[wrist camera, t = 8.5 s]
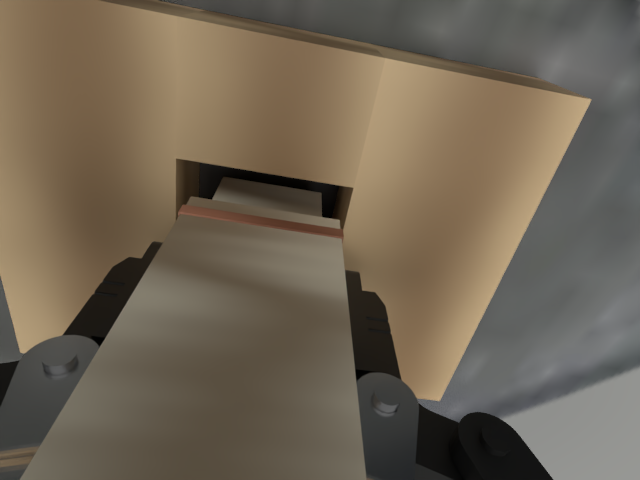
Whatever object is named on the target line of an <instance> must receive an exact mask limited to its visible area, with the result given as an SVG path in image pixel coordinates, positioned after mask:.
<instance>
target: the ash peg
mask: <svg viewBox="0 0 640 480" xmlns="http://www.w3.org/2000/svg"><path fill="white" fill-rule="evenodd" d="M343 239H344V234H343V229H340V220H337V219H330V218H324V217H322V194H321V193H320V192H314V191H308V190H302V189H296V188H290V187H284V186H278V185H272V184H265V183H259V182H253V181H247V180H241V179H235V178H229V177H223V178H222V180H221V182H220V184H219V186H218V188H217V190H216V192H215V194H214V196H213V198H212V200H211V199H204V198H198V197H192V196H191V197H190V199H189V201H188V202H187V204H186V205H182V207H181V208H180V210H179V212H178V219H177V220H176V222H175V224H174V225H173V227H172V229H171V230H170V232H169V234H168V235H167V237H166V239H165V240H164V242H163V244H162V245H161V247H160V249H159V250H158V252H157V254H156V255H155V257H154V258H153V260H152V262H151V263H150V265H149V267H148V268H147V270H146V272H145V273H144V275H143V277H142V278H141V280H140V282H139V283H138V285H137V287H136V288H135V290H134V292H133V293H132V295H131V297H130V298H129V300H128V301H127V303H126V305H125V306H124V308H123V310H122V311H121V313H120V315H119V316H118V318H117V320H116V321H115V323H114V325H113V326H112V328H111V330H110V331H109V333H108V335H107V336H106V338H105V340H104V341H103V343H102V344H101V346H100V348H99V349H98V351H97V353H96V354H95V356H94V358H93V359H92V361H91V363H90V364H89V366H88V368H87V369H86V371H85V373H84V374H83V376H82V378H81V379H80V381H79V383H78V384H77V386H76V387H75V389H74V391H73V392H72V394H71V396H70V397H69V399H68V401H67V402H66V404H65V406H64V407H63V409H62V411H61V412H60V414H59V416H58V417H57V419H56V421H55V422H54V424H53V426H52V427H51V429H50V430H49V432H48V434H47V435H46V437H45V439H44V440H43V442H42V444H41V445H40V447H39V449H38V450H37V452H36V454H35V455H34V457H33V459H32V460H31V462H30V464H29V465H28V467H27V469H26V470H25V472H24V473H23V475H22V477H21V478H20V480H366V470H365V460H364V451H363V441H362V431H361V422H360V412H359V403H358V393H357V383H356V374H355V364H354V354H353V345H352V335H351V325H350V316H349V306H348V296H347V287H346V277H345V267H344V258H343V248H342V243H343Z"/></svg>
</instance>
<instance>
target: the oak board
mask: <svg viewBox="0 0 640 480" xmlns="http://www.w3.org/2000/svg"><path fill="white" fill-rule="evenodd" d="M590 102H591V99H589V98H586V97H584V96H581V95H579V94H577V93H574V92H572V91H569V90H567V89H564V88H562V87H559V86H557V85H554V84H552V83H549V82H547V81H544V80H542V79H539V78H536V77H531V76H526V75H521V74H516V73H511V72H506V71H501V70H496V69H492V68H487V67H482V66H477V65H472V64H467V63H462V62H457V61H452V60H447V59H443V58H438V57H433V56H428V55H423V54H418V53H413V52H408V51H403V50H398V49H393V48H389V47H384V46H379V45H374V44H369V43H364V42H359V41H354V40H349V39H344V38H340V37H335V36H330V35H325V34H320V33H315V32H310V31H305V30H300V29H295V28H291V27H286V26H281V25H276V24H271V23H266V22H261V21H256V20H251V19H246V18H242V17H237V16H232V15H227V14H222V13H217V12H212V11H207V10H202V9H197V8H192V7H188V6H183V5H178V4H173V3H168V2H163V1H158V0H0V275H1V279H2V283H3V287H4V291H5V295H6V299H7V303H8V307H9V310H10V314H11V318H12V322H13V326H14V330H15V334H16V338H17V341H18V345H19V349H20V353H26V352H27V351H28V350H29V349H31V348H32V347H34V346H35V345H37V344H39V343H40V342H43V341H45V340H47V339H50V338H53V337H58V336H62V335H63V334H64V332H65V331H66V329H67V328H68V327H69V325H70V324H71V323H72V321H73V320H74V319H75V317H76V316H77V315H78V313H79V312H80V310H81V309H82V308H83V306H84V305H85V304H86V302H87V301H88V300H89V298H90V297H91V295H92V294H94V293H95V290H96V289H97V287H98V286H99V285H100V283H102V282H103V279H104V278H105V276H106V275H107V274H108V272H109V271H110V270H111V268H112V267H113V266H115V265H116V264H118V263H120V262H121V261H123V260H125V259H126V258H128V257H135V258H142V257H143V255H144V254H145V252H146V250H147V249H148V247H149V246H150V244H151V243H152V242H153V241H156V242H164V240H165V239H166V237H167V235H168V234H169V232H170V230H171V229H172V227H173V225H174V224H175V222H176V220H177V219H178V212H179V210H180V208H181V207H182V205H186V204H187V202H188V201H189V199H190V197H191V196H192V197H198V198H199V174H200V162H201V163H207V164H213V165H219V166H225V167H231V168H237V169H243V170H249V171H255V172H261V173H267V174H273V175H279V176H285V177H291V178H297V179H303V180H309V181H315V182H321V183H327V184H333V185H339V189H338V193H337V198H336V202H335V207H334V211H333V216H332V219H337V220H340V229H343V234H344V239H343V243H342V248H343V258H344V267H345V270H350V271H357V272H359V273H360V278H361V285H362V290H363V291H370V292H376V294H377V295H378V296H379V298H380V299H381V300H382V302H383V303H384V304H385V306H386V311H387V316H388V322H389V325H390V329H391V334H392V339H393V343H394V348H395V352H396V357H397V362H398V366H399V371H400V375H401V380H402V381H403V382H404V383H405V384H407V385H408V386H409V387H410V389H411V390H412V391H413V393H414V394H415V396H416V398H419V399H428V400H437V401H440V399H441V397H442V395H443V393H444V391H445V389H446V387H447V385H448V383H449V381H450V379H451V378H452V376H453V374H454V372H455V370H456V368H457V366H458V364H459V362H460V360H461V358H462V356H463V354H464V352H465V350H466V348H467V346H468V344H469V342H470V340H471V338H472V336H473V334H474V332H475V330H476V328H477V326H478V324H479V322H480V320H481V318H482V316H483V314H484V312H485V310H486V308H487V306H488V304H489V302H490V300H491V298H492V296H493V294H494V292H495V290H496V288H497V286H498V284H499V282H500V280H501V278H502V276H503V274H504V272H505V270H506V268H507V267H508V265H509V263H510V261H511V259H512V257H513V255H514V253H515V251H516V249H517V247H518V245H519V243H520V241H521V239H522V237H523V235H524V233H525V231H526V229H527V227H528V225H529V223H530V221H531V219H532V217H533V215H534V213H535V211H536V209H537V207H538V205H539V203H540V201H541V199H542V197H543V195H544V193H545V191H546V189H547V187H548V185H549V183H550V181H551V179H552V177H553V175H554V173H555V171H556V169H557V167H558V165H559V163H560V161H561V159H562V157H563V156H564V154H565V152H566V150H567V148H568V146H569V144H570V142H571V140H572V138H573V136H574V134H575V132H576V130H577V128H578V126H579V124H580V122H581V120H582V118H583V116H584V114H585V112H586V110H587V108H588V106H589V104H590Z"/></svg>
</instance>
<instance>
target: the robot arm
mask: <svg viewBox="0 0 640 480" xmlns="http://www.w3.org/2000/svg"><path fill="white" fill-rule="evenodd" d="M162 244H163V242H156V241H153V242H152V243H151V244H150V246H149V247H148V249H147V250H146V252H145V254H144V255H143V257H142V258H135V257H128V258H126V259H125V260H123V261H121V262H120V263H118V264H116V265H115V266H113V267H112V268H111V270H110V271H109V272H108V274H107V275H106V276H105V278H104V279H103V282H102V283H100V285H99V286H98V287H97V289H96V290H95V293H94V294H92V295H91V297H90V298H89V300H88V301H87V302H86V304H85V305H84V306H83V308H82V309H81V310H80V312H79V313H78V315H77V316H76V317H75V319H74V320H73V321H72V323H71V324H70V325H69V327H68V328H67V329H66V331H65V332H64V334H63V335H62V336H58V337H53V338H50V339H47V340H45V341H43V342H40V343H39V344H37V345H35V346H34V347H32V348H31V349H29V350H28V351H27V352H26V353H25V354H24V355H23V356H22V358H21V359H20V360H19V361H15V362H9V363H2V364H0V480H20V478H21V477H22V475H23V473H24V472H25V470H26V469H27V467H28V465H29V464H30V462H31V460H32V459H33V457H34V455H35V454H36V452H37V450H38V449H39V447H40V445H41V444H42V442H43V440H44V439H45V437H46V435H47V434H48V432H49V430H50V429H51V427H52V426H53V424H54V422H55V421H56V419H57V417H58V416H59V414H60V412H61V411H62V409H63V407H64V406H65V404H66V402H67V401H68V399H69V397H70V396H71V394H72V392H73V391H74V389H75V387H76V386H77V384H78V383H79V381H80V379H81V378H82V376H83V374H84V373H85V371H86V369H87V368H88V366H89V364H90V363H91V361H92V359H93V358H94V356H95V354H96V353H97V351H98V349H99V348H100V346H101V344H102V343H103V341H104V340H105V338H106V336H107V335H108V333H109V331H110V330H111V328H112V326H113V325H114V323H115V321H116V320H117V318H118V316H119V315H120V313H121V311H122V310H123V308H124V306H125V305H126V303H127V301H128V300H129V298H130V297H131V295H132V293H133V292H134V290H135V288H136V287H137V285H138V283H139V282H140V280H141V278H142V277H143V275H144V273H145V272H146V270H147V268H148V267H149V265H150V263H151V262H152V260H153V258H154V257H155V255H156V254H157V252H158V250H159V249H160V247H161V245H162ZM345 277H346V287H347V296H348V306H349V316H350V325H351V335H352V345H353V354H354V364H355V374H356V383H357V393H358V403H359V412H360V422H361V431H362V441H363V451H364V460H365V470H366V480H553V479H552V477H551V476H550V475H549V474H548V472H547V471H546V470H545V468H544V467H543V466H542V465H541V463H540V462H539V461H538V459H537V458H536V457H535V455H534V454H533V453H532V452H531V450H530V449H529V447H528V446H527V445H526V444H525V442H524V441H523V440H522V438H521V437H520V436H519V435H518V433H517V432H516V431H515V430H514V429H513V428H512V427H511V426H509V425H508V424H507V423H506V422H504V421H502V420H501V419H499V418H497V417H495V416H493V415H490V414H487V413H481V412H475V413H470V414H467V415H466V416H464V417H463V418H462V419H461V421H460V423H458V422H456V421H453V420H451V419H449V418H446V417H444V416H441V415H439V414H436V413H434V412H432V411H430V410H428V409H426V408H424V407H423V406H421V405H420V404H419V403H418V400H417V398H416V396H415V394H414V393H413V391H412V390H411V389H410V387H409V386H408V385H407V384H405V383H404V382H403V381H402V380H401V375H400V371H399V366H398V362H397V357H396V352H395V348H394V343H393V339H392V334H391V329H390V325H389V322H388V316H387V311H386V306H385V304H384V303H383V302H382V300H381V299H380V298H379V296H378V295H377V294H376V292H370V291H363V290H362V285H361V278H360V273H359V272H357V271H350V270H345Z"/></svg>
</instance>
